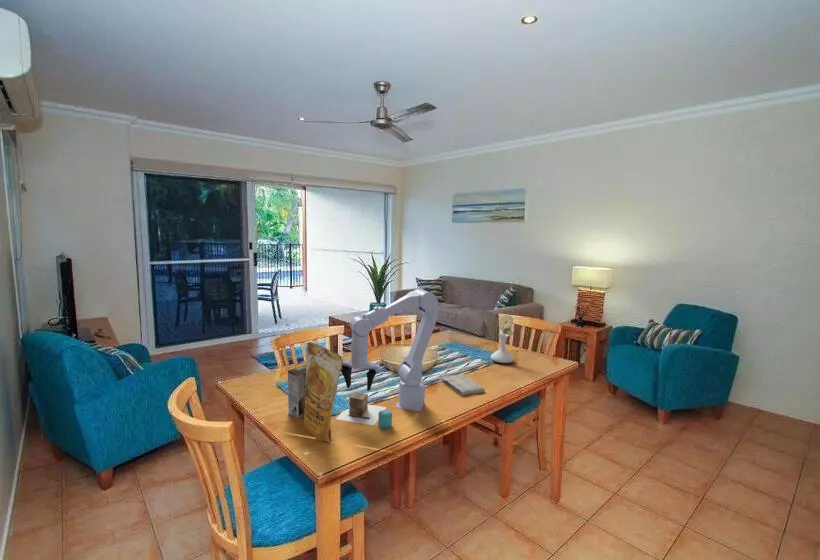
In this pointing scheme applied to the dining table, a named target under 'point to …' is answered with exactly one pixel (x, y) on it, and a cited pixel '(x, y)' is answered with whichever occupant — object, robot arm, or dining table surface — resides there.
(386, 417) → the teal rounded cylinder
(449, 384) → the washcloth
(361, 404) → the walnut block
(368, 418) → the letter mat
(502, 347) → the flower in vase
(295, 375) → the coffee box
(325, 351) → the pancake mix bag
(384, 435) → the dining table surface
